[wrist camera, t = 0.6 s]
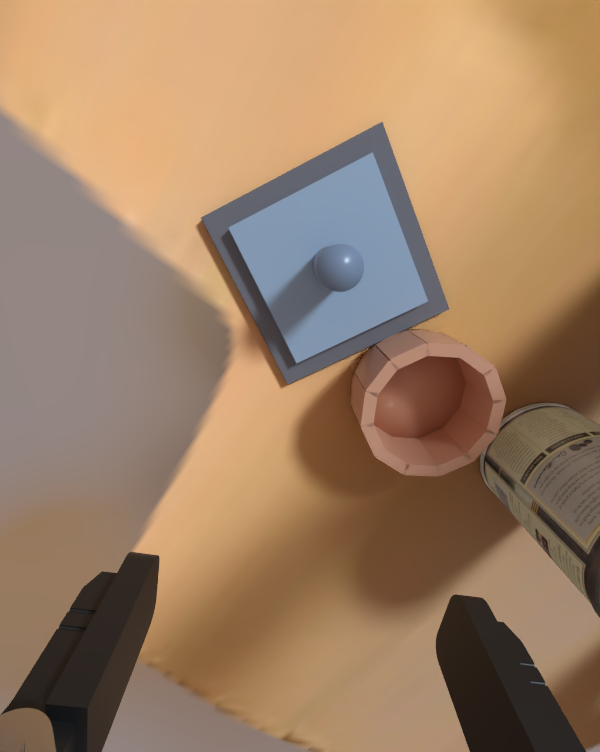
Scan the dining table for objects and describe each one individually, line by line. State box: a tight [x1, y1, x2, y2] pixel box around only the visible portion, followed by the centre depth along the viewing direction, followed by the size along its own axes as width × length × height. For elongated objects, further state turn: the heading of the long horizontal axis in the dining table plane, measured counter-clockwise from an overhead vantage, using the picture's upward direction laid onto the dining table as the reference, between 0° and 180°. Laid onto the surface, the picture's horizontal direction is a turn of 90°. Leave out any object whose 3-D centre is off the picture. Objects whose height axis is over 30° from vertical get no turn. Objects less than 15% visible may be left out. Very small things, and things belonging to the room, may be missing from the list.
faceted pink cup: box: [351, 329, 507, 477], centre depth 30 cm, size 10×10×6 cm
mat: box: [201, 122, 449, 384], centre depth 29 cm, size 14×14×1 cm
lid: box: [229, 152, 428, 363], centre depth 26 cm, size 11×11×6 cm
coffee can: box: [480, 403, 600, 617], centre depth 28 cm, size 10×10×14 cm
